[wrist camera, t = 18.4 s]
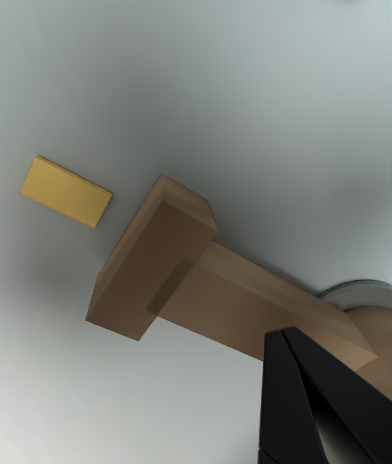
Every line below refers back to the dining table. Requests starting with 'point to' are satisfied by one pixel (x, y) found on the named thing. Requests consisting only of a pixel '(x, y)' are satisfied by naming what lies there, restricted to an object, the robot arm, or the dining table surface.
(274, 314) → the crank
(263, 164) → the dining table surface
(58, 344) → the dining table surface
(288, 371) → the robot arm
